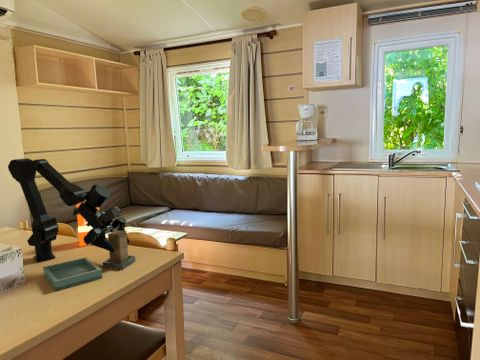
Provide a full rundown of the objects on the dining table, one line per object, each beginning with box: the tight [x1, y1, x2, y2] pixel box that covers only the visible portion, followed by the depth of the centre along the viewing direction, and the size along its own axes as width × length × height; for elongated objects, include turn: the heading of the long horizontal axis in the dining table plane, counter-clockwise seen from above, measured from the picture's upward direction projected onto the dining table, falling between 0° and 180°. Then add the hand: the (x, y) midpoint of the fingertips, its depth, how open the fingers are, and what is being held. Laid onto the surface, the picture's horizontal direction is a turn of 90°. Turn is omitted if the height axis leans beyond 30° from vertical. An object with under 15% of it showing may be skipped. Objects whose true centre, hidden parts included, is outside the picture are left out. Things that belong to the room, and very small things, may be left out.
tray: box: [42, 256, 103, 292], centre depth 117 cm, size 16×14×3 cm
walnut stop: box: [107, 230, 129, 263], centre depth 127 cm, size 4×4×12 cm
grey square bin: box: [102, 254, 136, 270], centre depth 127 cm, size 8×8×2 cm
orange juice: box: [76, 204, 100, 247], centre depth 153 cm, size 8×9×20 cm
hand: (121, 247), depth 126 cm, fingers open, 9 cm apart
